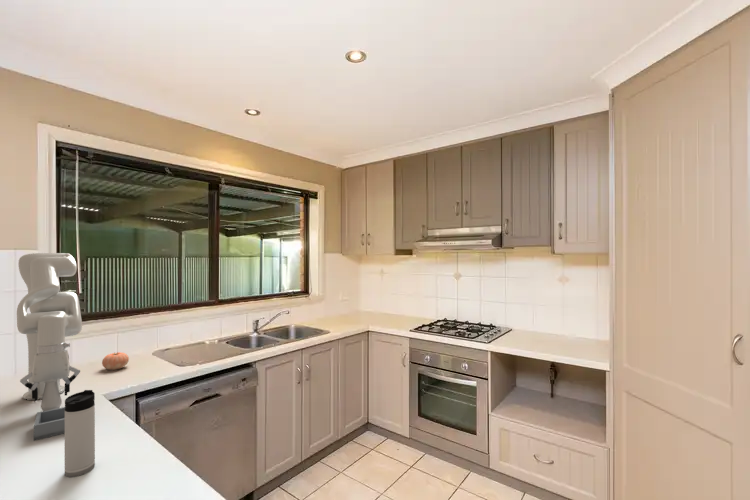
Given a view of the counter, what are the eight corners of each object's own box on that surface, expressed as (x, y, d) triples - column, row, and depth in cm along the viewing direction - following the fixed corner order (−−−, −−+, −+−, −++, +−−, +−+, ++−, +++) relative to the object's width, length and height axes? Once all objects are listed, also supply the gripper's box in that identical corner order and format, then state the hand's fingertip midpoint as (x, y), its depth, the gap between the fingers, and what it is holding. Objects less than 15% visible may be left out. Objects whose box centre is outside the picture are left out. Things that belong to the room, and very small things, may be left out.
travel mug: (101, 462, 101) (101, 389, 101) (83, 477, 95) (83, 399, 95) (77, 462, 101) (77, 389, 101) (58, 477, 94) (58, 399, 94)
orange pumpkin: (104, 367, 184) (104, 351, 184) (130, 364, 189) (130, 348, 189) (99, 373, 174) (99, 356, 174) (126, 370, 179) (126, 354, 179)
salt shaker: (59, 405, 138) (59, 370, 138) (63, 409, 135) (63, 374, 135) (39, 410, 134) (39, 375, 134) (42, 415, 130) (42, 378, 130)
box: (37, 426, 122) (37, 412, 122) (83, 415, 130) (83, 403, 130) (33, 440, 113) (33, 426, 113) (83, 428, 120) (83, 414, 120)
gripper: (81, 342, 143) (81, 388, 143) (19, 350, 132) (19, 400, 132) (82, 346, 137) (82, 394, 137) (16, 355, 126) (16, 407, 126)
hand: (51, 396), depth 134 cm, fingers open, 7 cm apart
